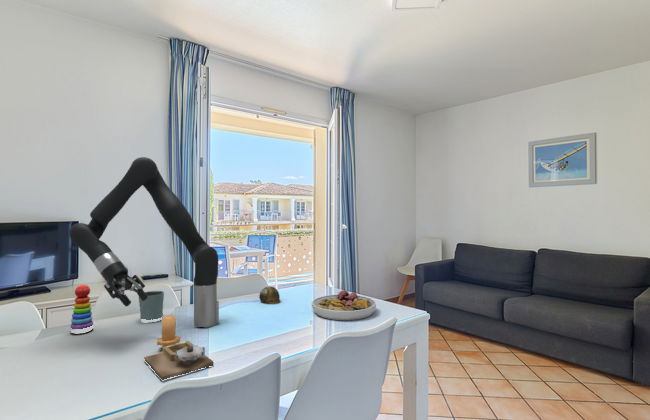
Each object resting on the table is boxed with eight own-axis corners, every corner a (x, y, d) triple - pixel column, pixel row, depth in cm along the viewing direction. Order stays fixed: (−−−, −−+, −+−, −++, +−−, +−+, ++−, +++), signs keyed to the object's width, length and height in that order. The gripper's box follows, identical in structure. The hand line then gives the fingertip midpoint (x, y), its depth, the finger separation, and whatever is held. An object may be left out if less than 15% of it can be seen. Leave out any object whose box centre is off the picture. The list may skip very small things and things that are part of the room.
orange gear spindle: (176, 342, 129) (175, 312, 129) (183, 348, 123) (183, 317, 123) (154, 348, 124) (153, 316, 124) (160, 354, 118) (160, 321, 118)
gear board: (191, 349, 123) (191, 331, 123) (213, 366, 109) (213, 346, 109) (144, 361, 113) (144, 342, 113) (162, 382, 99) (162, 360, 99)
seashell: (255, 302, 185) (255, 287, 185) (268, 298, 192) (268, 284, 192) (270, 305, 178) (270, 290, 178) (283, 302, 185) (283, 286, 185)
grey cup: (145, 325, 148) (145, 297, 148) (134, 321, 154) (134, 293, 154) (168, 319, 156) (168, 292, 156) (157, 315, 162) (156, 289, 162)
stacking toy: (65, 336, 136) (65, 287, 136) (74, 329, 143) (74, 283, 143) (89, 334, 138) (89, 286, 138) (96, 327, 146) (96, 282, 146)
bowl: (379, 322, 151) (379, 304, 151) (309, 322, 152) (309, 304, 152) (372, 304, 181) (371, 288, 181) (313, 304, 182) (313, 288, 182)
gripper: (102, 263, 121) (130, 299, 118) (131, 258, 135) (157, 291, 132) (87, 277, 121) (115, 314, 119) (118, 271, 135) (144, 304, 133)
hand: (137, 301), depth 126 cm, fingers open, 8 cm apart
